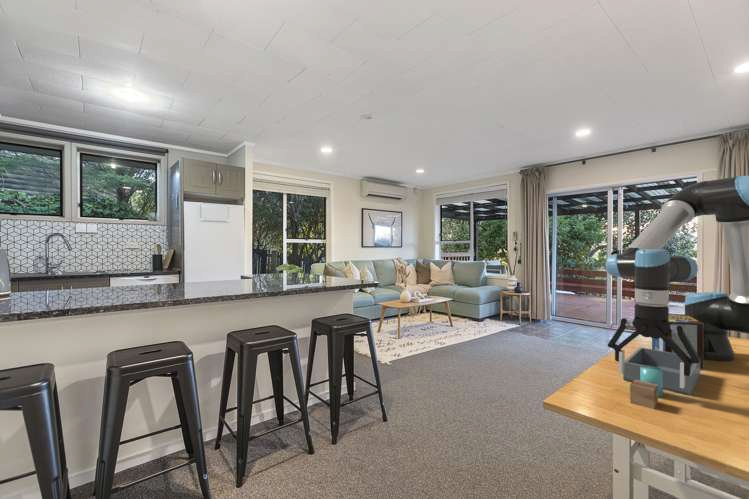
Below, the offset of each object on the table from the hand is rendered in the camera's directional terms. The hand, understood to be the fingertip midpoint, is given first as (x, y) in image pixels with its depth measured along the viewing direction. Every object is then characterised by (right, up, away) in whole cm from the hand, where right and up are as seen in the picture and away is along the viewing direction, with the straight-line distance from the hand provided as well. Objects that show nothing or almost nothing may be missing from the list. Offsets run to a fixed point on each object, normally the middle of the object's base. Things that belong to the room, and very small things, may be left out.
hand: (650, 379), depth 99 cm
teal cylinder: (0, -4, 0) cm, 4 cm away
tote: (+13, -4, +11) cm, 17 cm away
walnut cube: (-6, -4, -5) cm, 9 cm away
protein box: (+30, -3, +27) cm, 40 cm away
